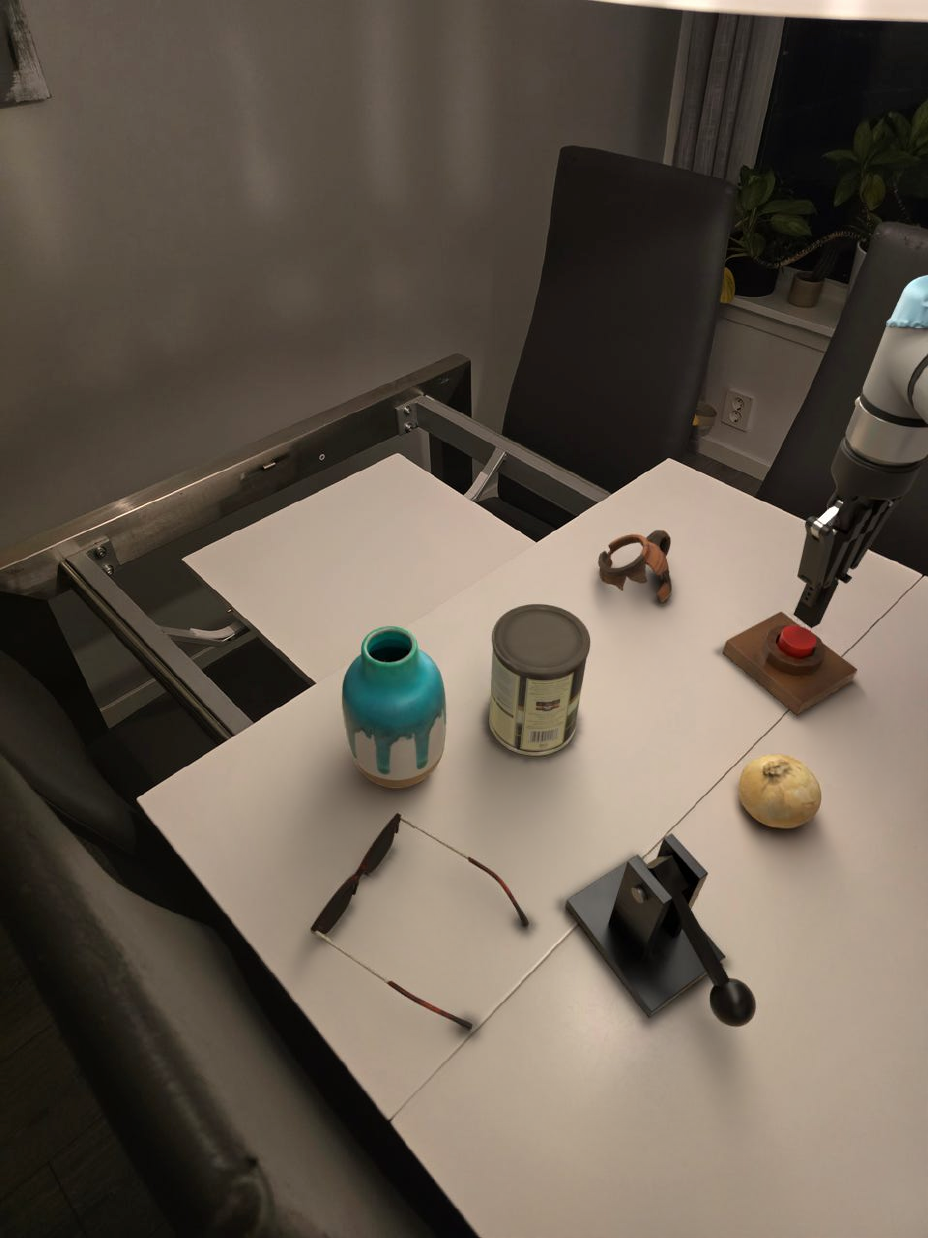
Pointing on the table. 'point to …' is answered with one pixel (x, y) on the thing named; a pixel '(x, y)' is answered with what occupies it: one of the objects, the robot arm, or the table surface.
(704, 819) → the table surface
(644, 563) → the pottery mug
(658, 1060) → the table surface
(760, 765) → the onion
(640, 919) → the bracket
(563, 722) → the coffee can
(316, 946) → the table surface
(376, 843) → the sunglasses
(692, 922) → the lever
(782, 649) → the button
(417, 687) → the vase
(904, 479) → the robot arm
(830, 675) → the button block
